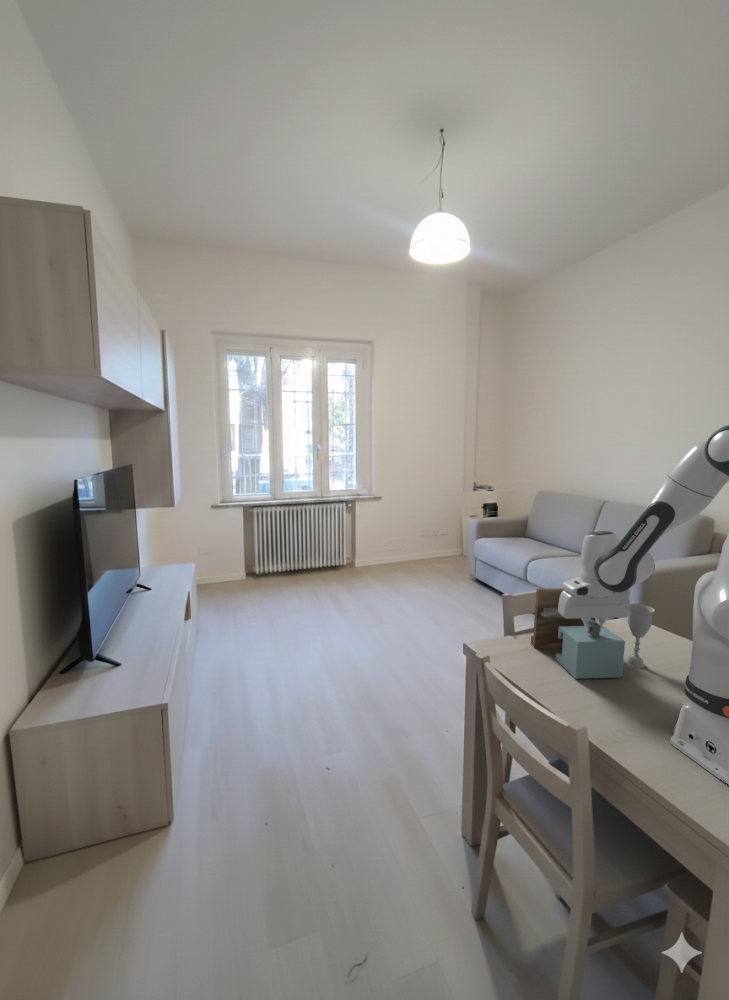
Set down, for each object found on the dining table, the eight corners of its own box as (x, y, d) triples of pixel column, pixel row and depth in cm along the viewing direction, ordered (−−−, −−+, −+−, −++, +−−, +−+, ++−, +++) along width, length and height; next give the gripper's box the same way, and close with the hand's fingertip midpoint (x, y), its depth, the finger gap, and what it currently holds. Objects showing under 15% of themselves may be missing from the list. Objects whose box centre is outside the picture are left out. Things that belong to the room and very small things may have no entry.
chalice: (641, 658, 141) (647, 604, 138) (653, 669, 134) (659, 612, 131) (617, 657, 141) (623, 603, 139) (628, 668, 135) (633, 611, 132)
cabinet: (621, 677, 129) (626, 627, 127) (575, 678, 128) (578, 629, 126) (598, 658, 140) (602, 612, 138) (555, 659, 139) (558, 613, 137)
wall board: (598, 651, 145) (603, 592, 142) (538, 652, 144) (542, 593, 141) (587, 643, 151) (592, 586, 148) (530, 644, 150) (534, 587, 147)
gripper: (623, 581, 133) (619, 625, 135) (557, 583, 132) (554, 627, 134) (637, 588, 127) (633, 634, 129) (568, 590, 126) (564, 636, 127)
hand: (592, 631), depth 131 cm, fingers closed on cabinet
